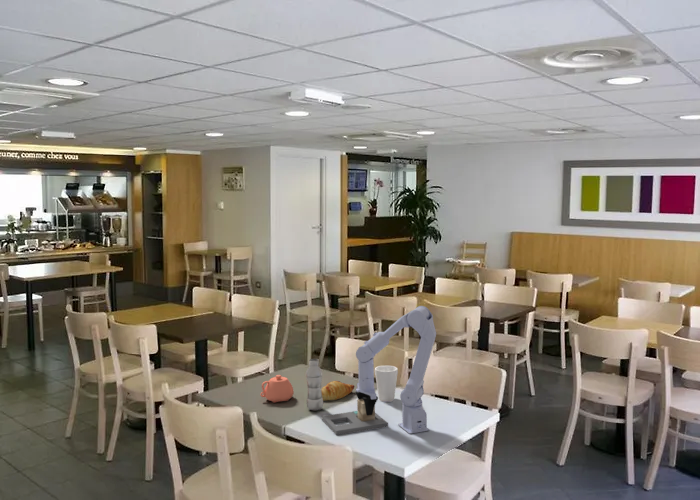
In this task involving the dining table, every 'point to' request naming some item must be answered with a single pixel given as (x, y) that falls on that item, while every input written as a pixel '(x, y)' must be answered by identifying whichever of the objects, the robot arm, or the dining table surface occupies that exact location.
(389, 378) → the foam cup
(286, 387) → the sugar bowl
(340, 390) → the croissant
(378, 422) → the socket panel
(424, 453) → the dining table surface
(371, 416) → the plug
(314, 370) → the plastic bottle
